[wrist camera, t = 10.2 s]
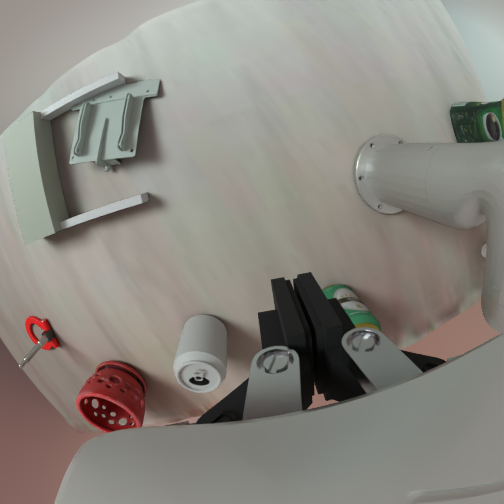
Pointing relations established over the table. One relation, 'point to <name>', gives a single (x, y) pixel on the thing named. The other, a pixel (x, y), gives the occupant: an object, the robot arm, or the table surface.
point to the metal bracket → (110, 123)
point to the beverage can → (352, 306)
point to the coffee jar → (478, 121)
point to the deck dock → (49, 169)
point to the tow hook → (44, 342)
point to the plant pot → (113, 397)
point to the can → (201, 354)
